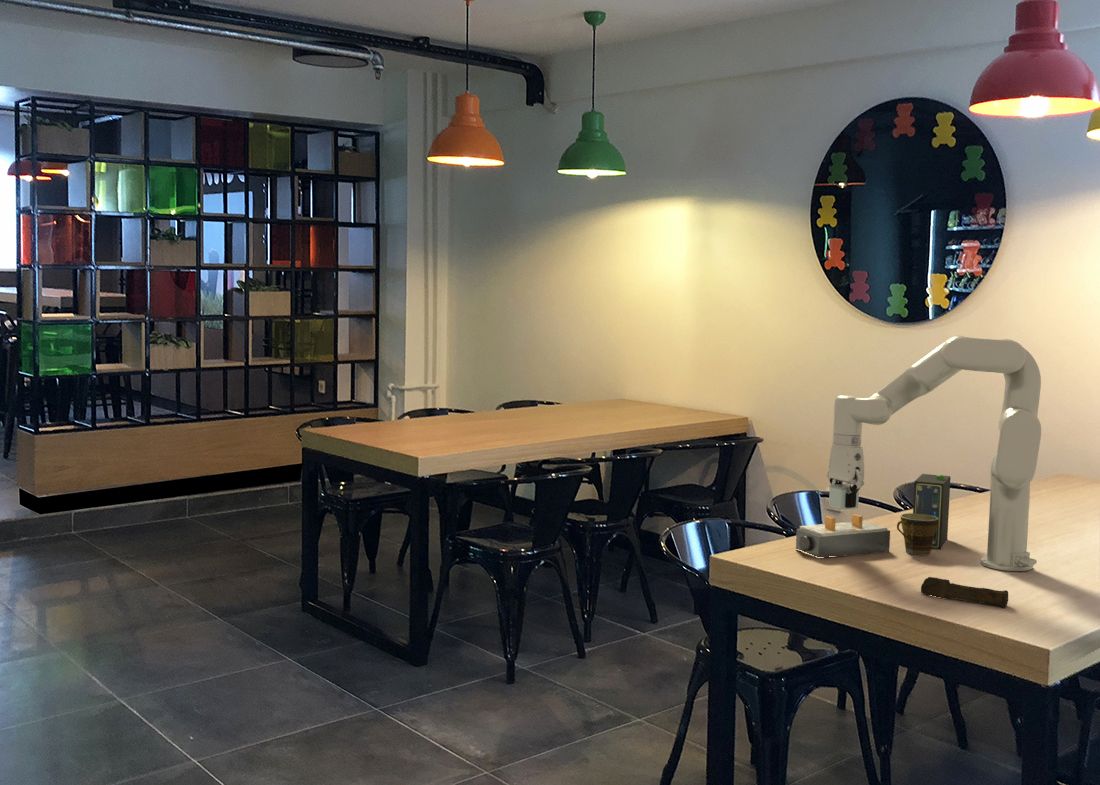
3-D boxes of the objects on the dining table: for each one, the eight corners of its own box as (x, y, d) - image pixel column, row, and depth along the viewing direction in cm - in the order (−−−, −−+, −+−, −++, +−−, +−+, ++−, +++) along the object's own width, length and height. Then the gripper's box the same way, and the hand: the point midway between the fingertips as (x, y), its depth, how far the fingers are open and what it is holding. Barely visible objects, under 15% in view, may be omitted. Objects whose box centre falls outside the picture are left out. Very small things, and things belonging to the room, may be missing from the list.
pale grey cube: (858, 508, 284) (859, 486, 283) (840, 509, 282) (841, 487, 281) (846, 504, 288) (847, 483, 288) (828, 506, 286) (829, 484, 286)
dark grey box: (910, 547, 292) (913, 477, 290) (919, 535, 308) (922, 469, 306) (940, 551, 288) (943, 480, 286) (948, 538, 304) (951, 471, 302)
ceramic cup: (917, 546, 293) (919, 512, 292) (945, 554, 284) (946, 518, 283) (883, 550, 287) (884, 515, 286) (909, 558, 278) (911, 522, 277)
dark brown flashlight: (1009, 606, 236) (1010, 586, 235) (1005, 610, 232) (1006, 590, 232) (924, 592, 246) (924, 573, 246) (919, 596, 243) (920, 577, 243)
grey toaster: (889, 551, 286) (890, 517, 285) (814, 559, 276) (815, 523, 276) (865, 543, 295) (866, 510, 294) (792, 550, 286) (793, 515, 285)
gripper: (878, 444, 277) (875, 510, 279) (838, 436, 293) (835, 499, 294) (856, 445, 274) (852, 512, 276) (816, 436, 290) (813, 500, 291)
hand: (843, 504), depth 285 cm, fingers closed on pale grey cube, 5 cm apart
